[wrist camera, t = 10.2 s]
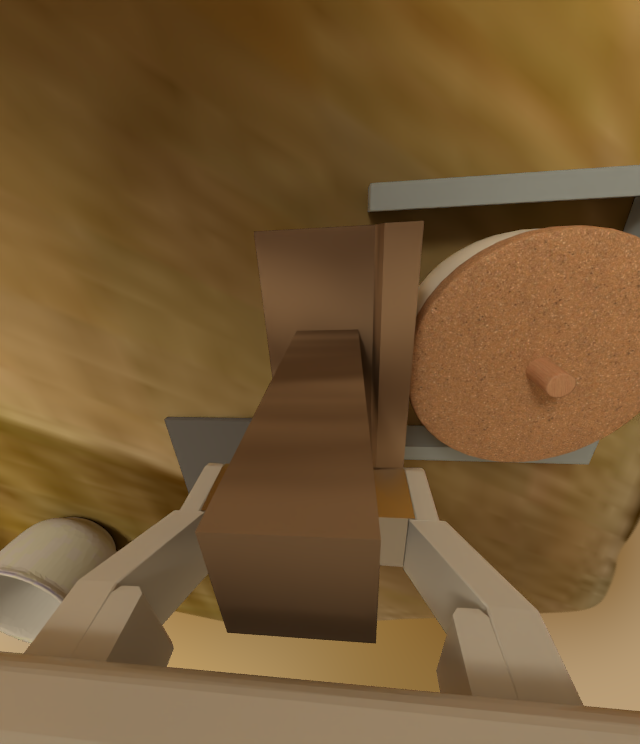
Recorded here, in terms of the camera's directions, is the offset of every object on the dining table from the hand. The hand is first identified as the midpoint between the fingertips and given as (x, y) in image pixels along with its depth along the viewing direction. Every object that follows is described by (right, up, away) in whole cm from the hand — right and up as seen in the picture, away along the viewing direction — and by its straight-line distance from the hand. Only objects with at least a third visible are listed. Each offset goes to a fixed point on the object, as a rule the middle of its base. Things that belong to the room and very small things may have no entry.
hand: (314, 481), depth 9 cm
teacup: (-25, -16, +26) cm, 39 cm away
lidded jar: (+10, +7, +11) cm, 16 cm away
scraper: (+1, +4, +8) cm, 9 cm away
